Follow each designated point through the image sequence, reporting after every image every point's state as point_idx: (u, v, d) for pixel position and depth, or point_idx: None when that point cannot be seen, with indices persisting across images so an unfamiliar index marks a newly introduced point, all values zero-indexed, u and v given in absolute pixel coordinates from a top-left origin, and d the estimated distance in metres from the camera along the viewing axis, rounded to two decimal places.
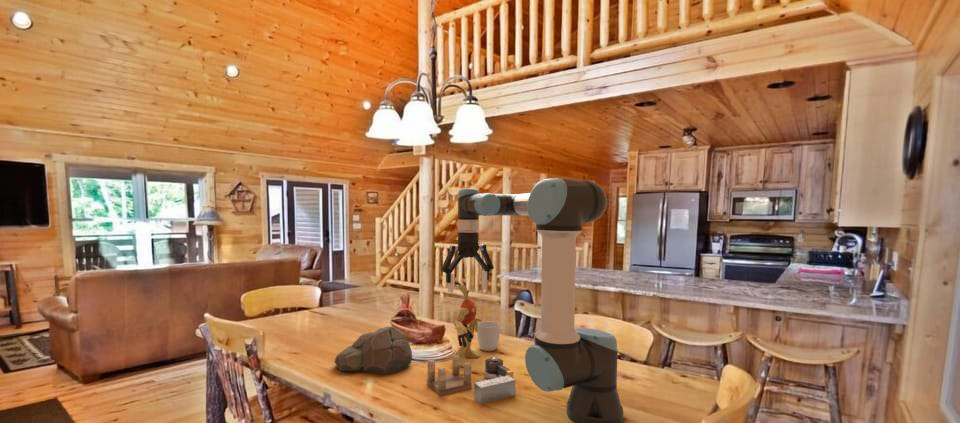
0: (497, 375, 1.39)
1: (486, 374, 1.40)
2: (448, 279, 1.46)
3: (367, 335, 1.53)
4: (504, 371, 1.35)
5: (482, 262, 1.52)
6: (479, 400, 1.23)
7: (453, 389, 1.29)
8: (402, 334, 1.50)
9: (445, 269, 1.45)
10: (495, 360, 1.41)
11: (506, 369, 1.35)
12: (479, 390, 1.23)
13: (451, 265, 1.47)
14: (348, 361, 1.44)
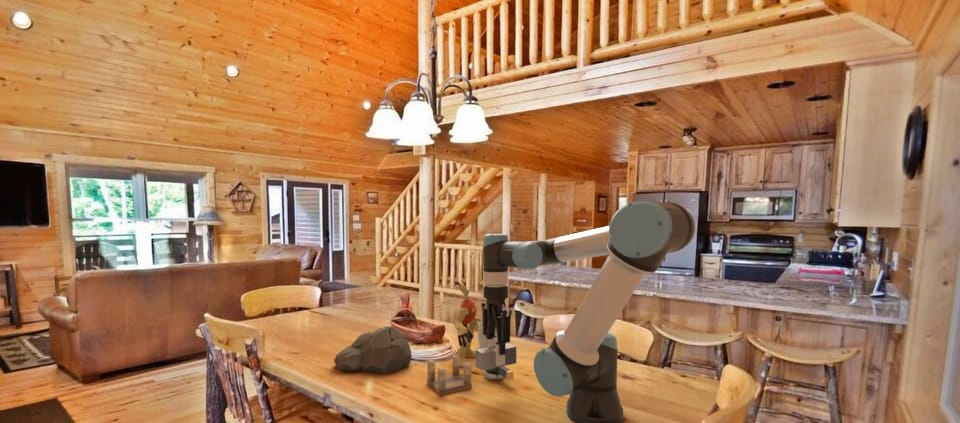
0: (497, 375, 1.39)
1: (486, 374, 1.40)
2: (488, 344, 1.29)
3: (366, 335, 1.53)
4: (504, 371, 1.35)
5: (497, 329, 1.24)
6: (480, 366, 1.22)
7: (453, 389, 1.29)
8: (401, 334, 1.51)
9: (483, 331, 1.30)
10: None
11: (506, 369, 1.35)
12: (480, 356, 1.22)
13: None
14: (347, 361, 1.44)
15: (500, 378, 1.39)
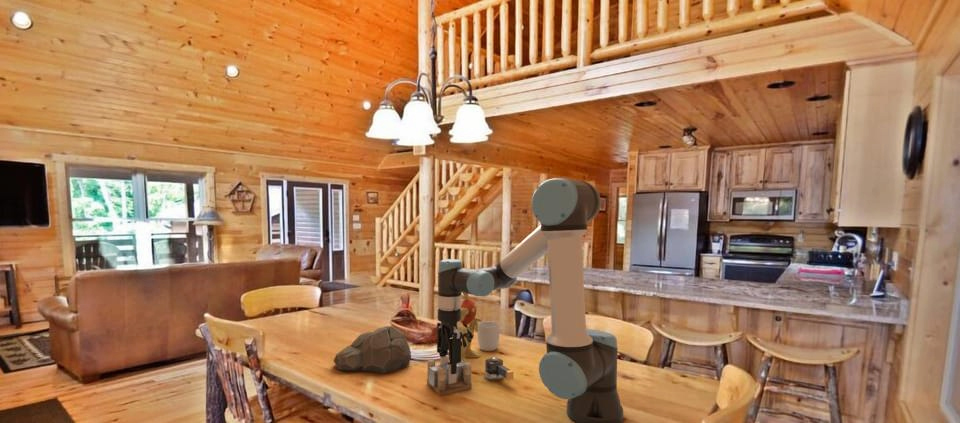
0: (497, 375, 1.39)
1: (486, 374, 1.40)
2: None
3: (366, 335, 1.53)
4: (504, 371, 1.35)
5: (449, 350, 1.31)
6: (433, 383, 1.30)
7: (453, 389, 1.29)
8: (401, 333, 1.51)
9: (437, 349, 1.39)
10: (495, 360, 1.41)
11: (506, 369, 1.35)
12: (432, 374, 1.30)
13: None
14: (347, 361, 1.44)
15: (500, 378, 1.39)
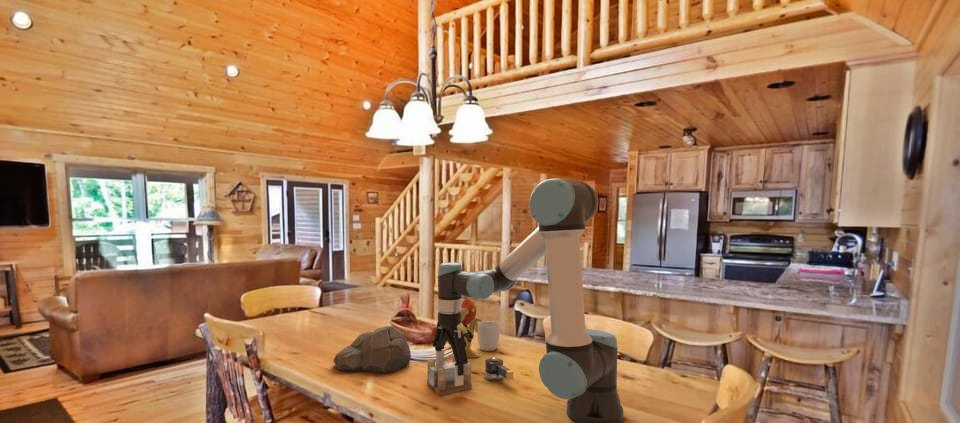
0: (497, 375, 1.39)
1: (486, 374, 1.40)
2: None
3: (366, 334, 1.53)
4: (504, 371, 1.35)
5: (453, 351, 1.29)
6: (433, 383, 1.30)
7: (453, 389, 1.29)
8: (401, 333, 1.51)
9: (433, 344, 1.42)
10: (495, 360, 1.41)
11: (506, 369, 1.35)
12: (432, 374, 1.30)
13: None
14: (346, 361, 1.44)
15: (500, 378, 1.39)
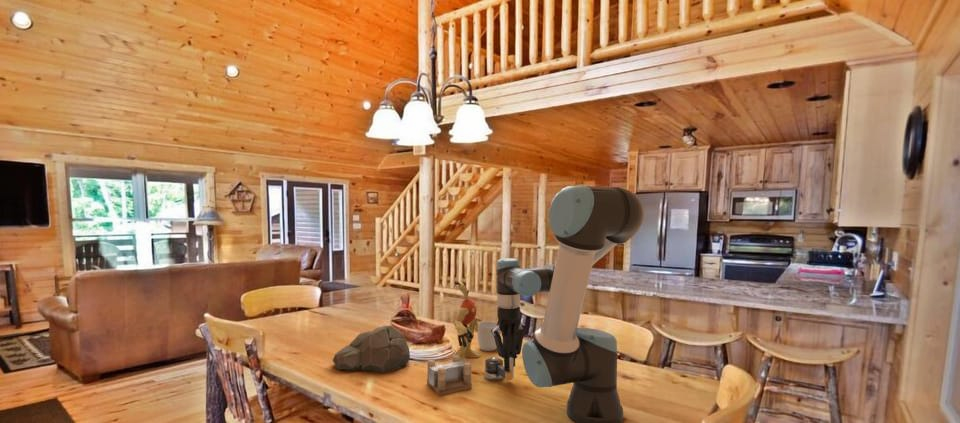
0: (497, 375, 1.39)
1: (486, 374, 1.40)
2: (507, 364, 1.36)
3: (365, 334, 1.54)
4: (503, 371, 1.35)
5: (514, 344, 1.37)
6: (433, 383, 1.30)
7: (453, 389, 1.29)
8: (400, 333, 1.52)
9: (503, 355, 1.35)
10: (495, 360, 1.41)
11: (505, 369, 1.35)
12: (432, 374, 1.30)
13: (505, 349, 1.37)
14: (346, 360, 1.45)
15: (500, 378, 1.39)
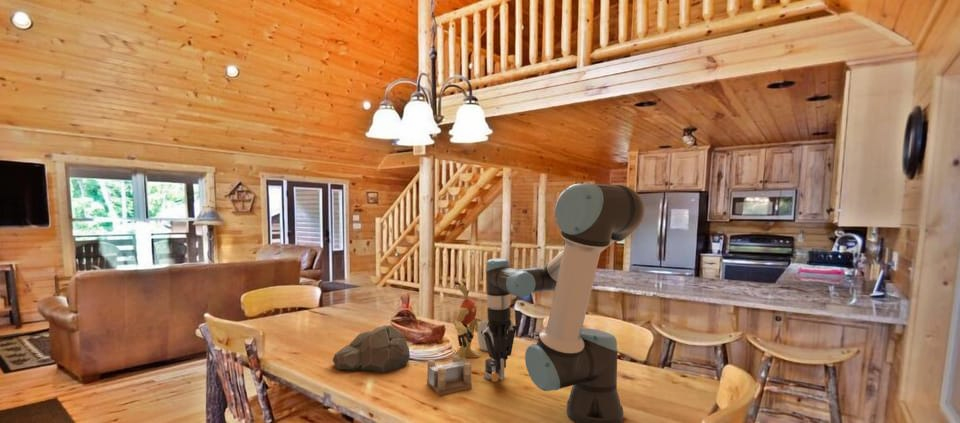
0: None
1: (486, 374, 1.40)
2: (498, 365, 1.35)
3: (365, 334, 1.54)
4: (491, 372, 1.34)
5: (504, 345, 1.36)
6: (433, 383, 1.30)
7: (453, 389, 1.29)
8: (400, 333, 1.52)
9: (494, 356, 1.34)
10: (493, 360, 1.41)
11: (494, 370, 1.34)
12: (432, 374, 1.30)
13: (495, 350, 1.35)
14: (346, 360, 1.45)
15: None
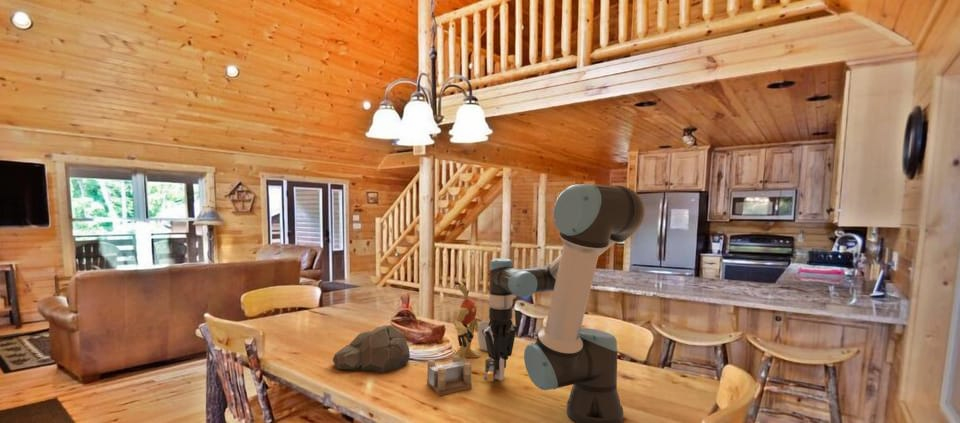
0: None
1: (486, 374, 1.40)
2: (497, 366, 1.35)
3: (365, 334, 1.54)
4: (488, 371, 1.34)
5: (505, 345, 1.36)
6: (433, 383, 1.30)
7: (453, 389, 1.29)
8: (400, 333, 1.52)
9: (493, 356, 1.33)
10: (493, 360, 1.41)
11: (491, 370, 1.34)
12: (432, 374, 1.30)
13: (495, 350, 1.35)
14: (346, 360, 1.45)
15: None
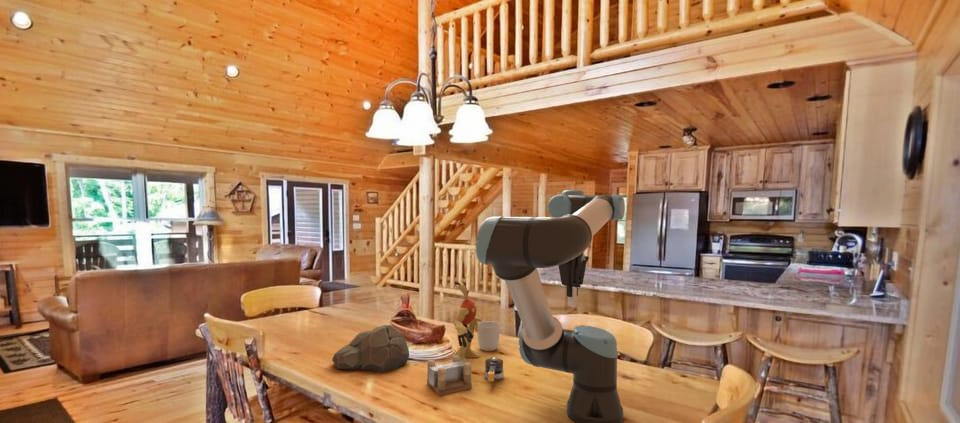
0: (497, 375, 1.39)
1: (486, 374, 1.40)
2: (570, 293, 1.39)
3: (364, 333, 1.54)
4: (489, 371, 1.34)
5: (577, 274, 1.40)
6: (433, 383, 1.30)
7: (453, 389, 1.29)
8: (399, 332, 1.52)
9: (567, 283, 1.38)
10: (493, 360, 1.41)
11: (491, 370, 1.34)
12: (432, 374, 1.30)
13: (568, 278, 1.40)
14: (345, 359, 1.45)
15: (500, 378, 1.39)
